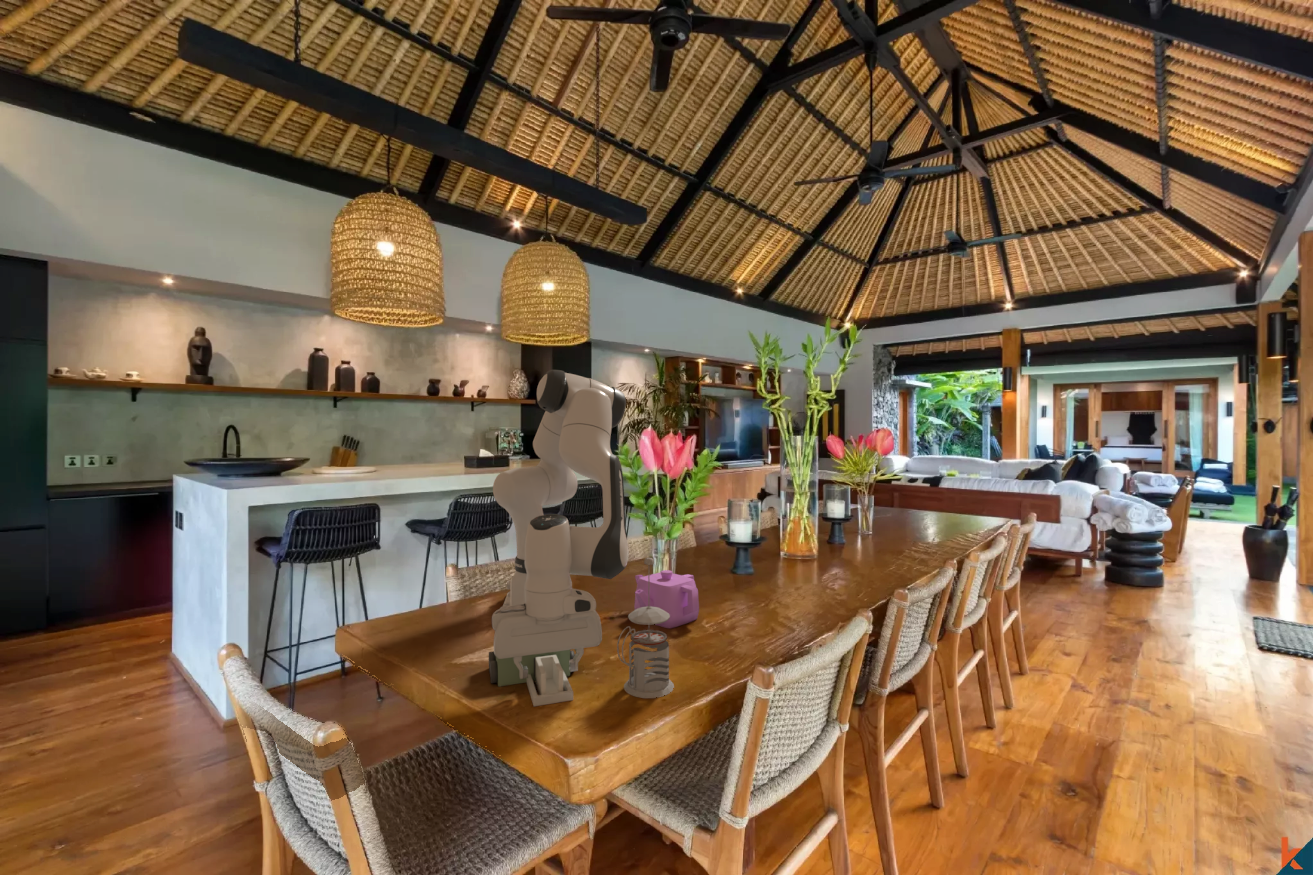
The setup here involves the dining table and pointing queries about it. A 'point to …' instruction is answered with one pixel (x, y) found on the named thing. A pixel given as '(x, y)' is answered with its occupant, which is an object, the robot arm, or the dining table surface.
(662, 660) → the french press
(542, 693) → the slotted cream stand
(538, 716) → the dining table surface
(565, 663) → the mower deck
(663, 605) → the teakettle
